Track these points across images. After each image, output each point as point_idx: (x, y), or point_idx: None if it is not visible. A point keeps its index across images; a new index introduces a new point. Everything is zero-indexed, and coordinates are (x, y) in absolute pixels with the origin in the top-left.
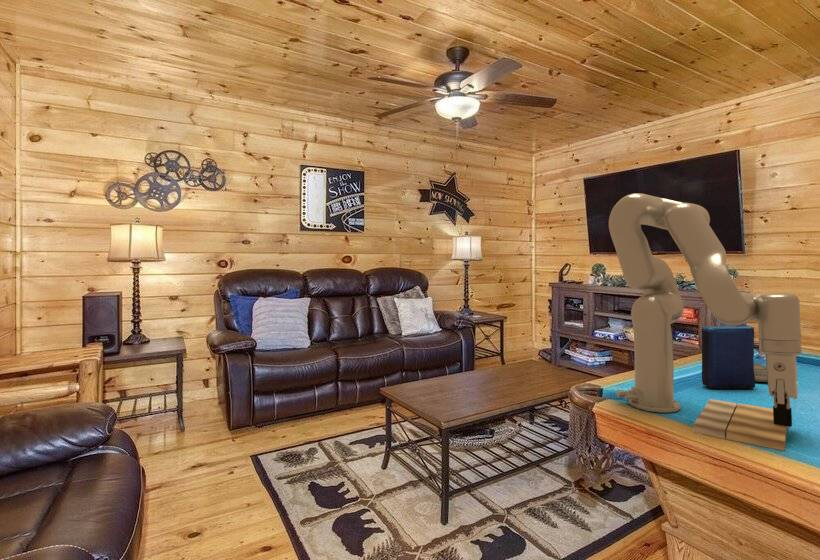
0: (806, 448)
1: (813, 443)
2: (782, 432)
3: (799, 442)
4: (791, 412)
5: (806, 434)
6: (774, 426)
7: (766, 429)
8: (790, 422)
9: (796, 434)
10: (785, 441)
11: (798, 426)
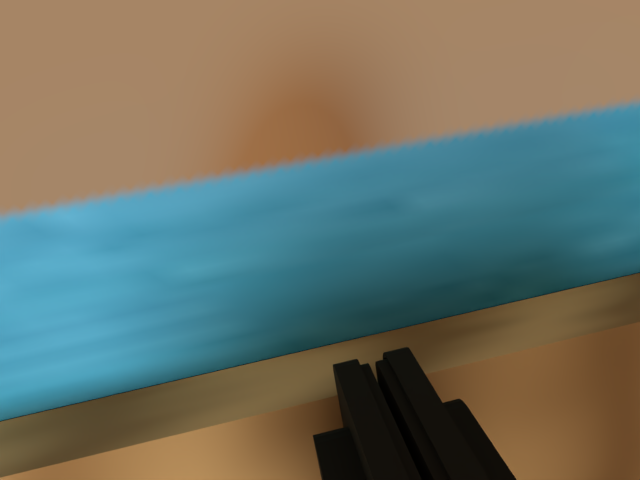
0: (632, 148)
1: (465, 133)
2: (630, 344)
3: (515, 217)
4: (404, 463)
5: (232, 228)
6: (494, 431)
7: (622, 439)
8: (422, 377)
9: (305, 284)
10: (590, 288)
11: (13, 335)
